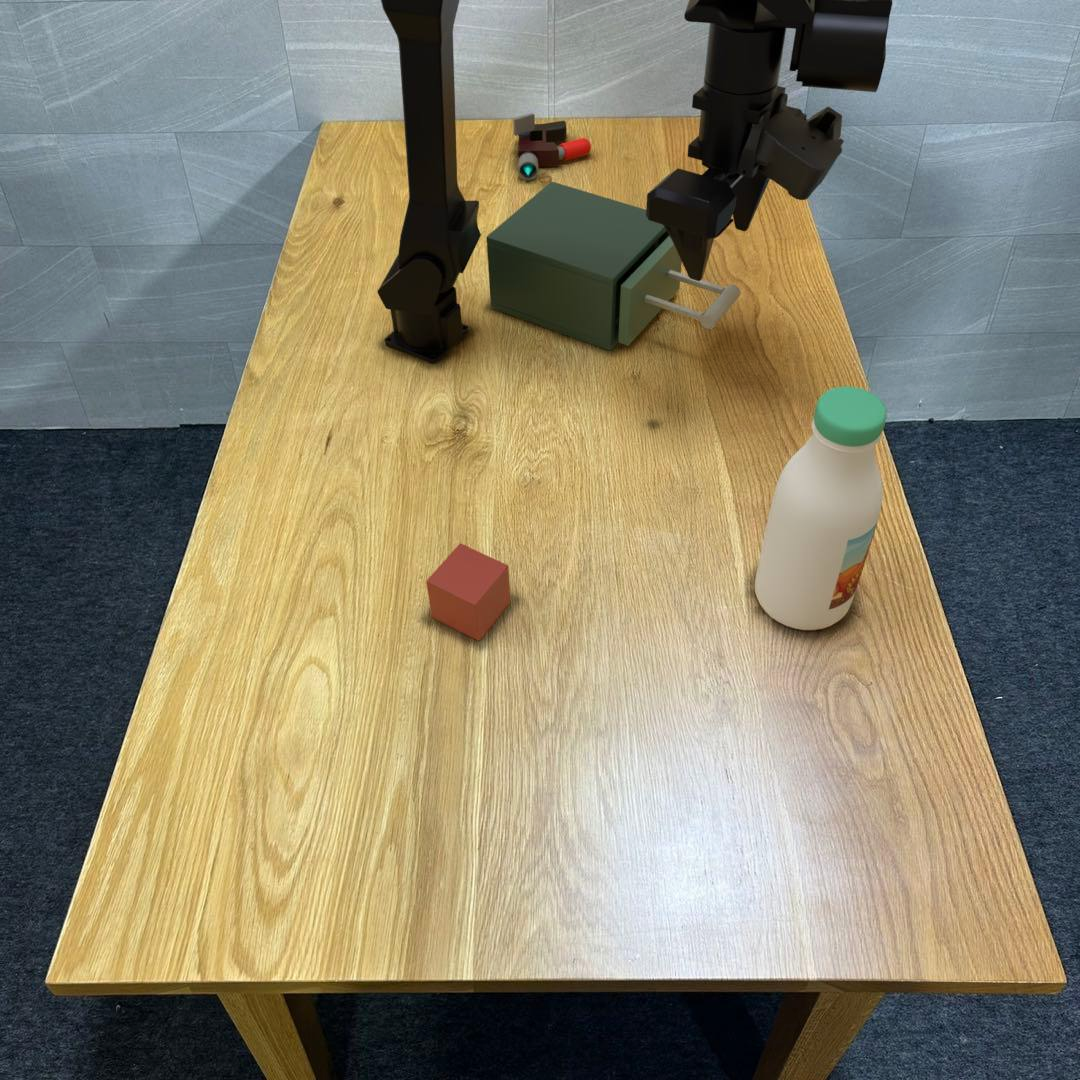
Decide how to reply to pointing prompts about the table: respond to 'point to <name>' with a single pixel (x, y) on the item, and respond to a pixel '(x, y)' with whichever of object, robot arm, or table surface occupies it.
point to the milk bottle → (824, 514)
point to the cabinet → (567, 261)
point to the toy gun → (544, 145)
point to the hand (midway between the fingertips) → (719, 253)
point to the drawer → (662, 292)
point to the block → (469, 591)
